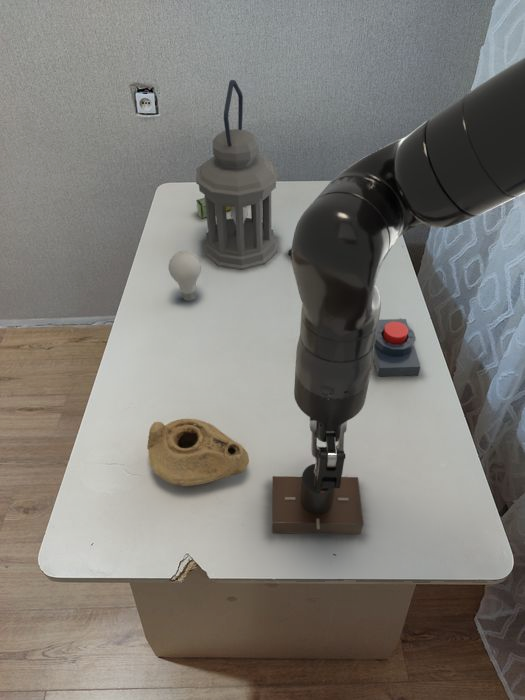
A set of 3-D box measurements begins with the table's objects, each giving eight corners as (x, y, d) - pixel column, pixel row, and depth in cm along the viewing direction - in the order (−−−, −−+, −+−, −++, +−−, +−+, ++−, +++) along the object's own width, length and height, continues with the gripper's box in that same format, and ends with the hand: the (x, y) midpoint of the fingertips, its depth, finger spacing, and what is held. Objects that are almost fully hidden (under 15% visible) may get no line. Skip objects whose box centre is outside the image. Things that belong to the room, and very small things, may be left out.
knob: (297, 487, 74) (299, 464, 70) (328, 482, 74) (331, 459, 70) (304, 516, 71) (306, 494, 67) (336, 511, 71) (340, 489, 67)
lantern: (209, 224, 125) (193, 63, 100) (280, 227, 124) (282, 64, 99) (197, 268, 114) (175, 98, 89) (275, 271, 113) (276, 100, 87)
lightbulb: (196, 312, 104) (190, 266, 96) (168, 305, 106) (160, 259, 98) (210, 293, 108) (205, 248, 100) (182, 286, 109) (175, 241, 102)
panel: (355, 482, 78) (357, 471, 75) (361, 540, 72) (364, 529, 69) (272, 482, 78) (272, 470, 76) (272, 538, 72) (272, 528, 70)
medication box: (201, 219, 127) (200, 205, 124) (196, 213, 128) (195, 199, 125) (246, 205, 131) (246, 191, 127) (241, 199, 132) (241, 185, 129)
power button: (408, 344, 92) (410, 337, 91) (385, 345, 92) (386, 337, 91) (403, 328, 95) (405, 321, 94) (381, 328, 95) (382, 321, 94)
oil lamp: (247, 497, 76) (245, 467, 71) (143, 494, 77) (133, 464, 71) (252, 434, 84) (250, 402, 78) (157, 431, 84) (149, 399, 79)
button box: (418, 375, 92) (422, 359, 89) (377, 376, 92) (381, 360, 89) (403, 327, 100) (407, 311, 97) (366, 328, 100) (369, 312, 97)
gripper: (379, 426, 49) (358, 510, 60) (362, 319, 58) (347, 409, 70) (297, 425, 49) (291, 509, 60) (294, 318, 59) (289, 409, 70)
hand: (321, 455), depth 65 cm, fingers open, 8 cm apart
